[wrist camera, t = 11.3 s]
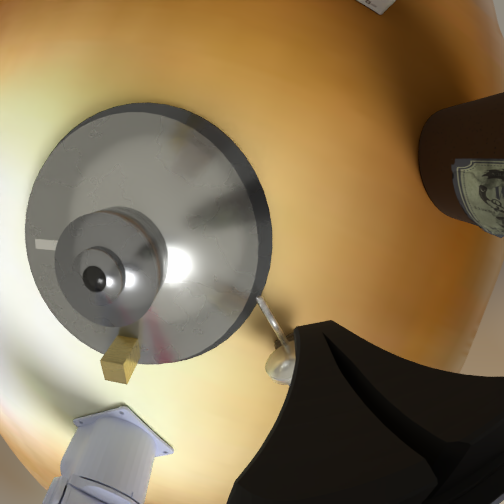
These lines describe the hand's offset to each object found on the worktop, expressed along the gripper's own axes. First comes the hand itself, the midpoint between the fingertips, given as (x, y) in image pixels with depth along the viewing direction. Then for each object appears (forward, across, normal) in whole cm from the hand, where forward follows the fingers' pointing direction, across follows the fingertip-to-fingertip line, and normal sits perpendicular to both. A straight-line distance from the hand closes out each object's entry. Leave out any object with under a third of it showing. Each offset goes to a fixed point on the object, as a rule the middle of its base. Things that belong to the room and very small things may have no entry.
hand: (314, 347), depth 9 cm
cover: (+8, +10, -2) cm, 13 cm away
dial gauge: (+10, +1, +5) cm, 11 cm away
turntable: (+9, +10, -3) cm, 14 cm away
